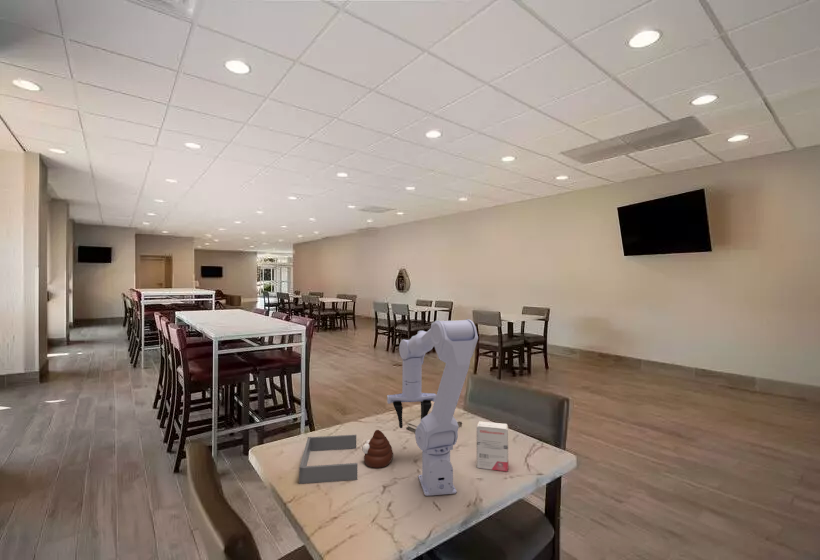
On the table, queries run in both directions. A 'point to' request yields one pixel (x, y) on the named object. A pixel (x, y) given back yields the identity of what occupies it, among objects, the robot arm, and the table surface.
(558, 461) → the table surface
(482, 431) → the ink box
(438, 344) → the robot arm
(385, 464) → the poop emoji
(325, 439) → the bin
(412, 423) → the washcloth
